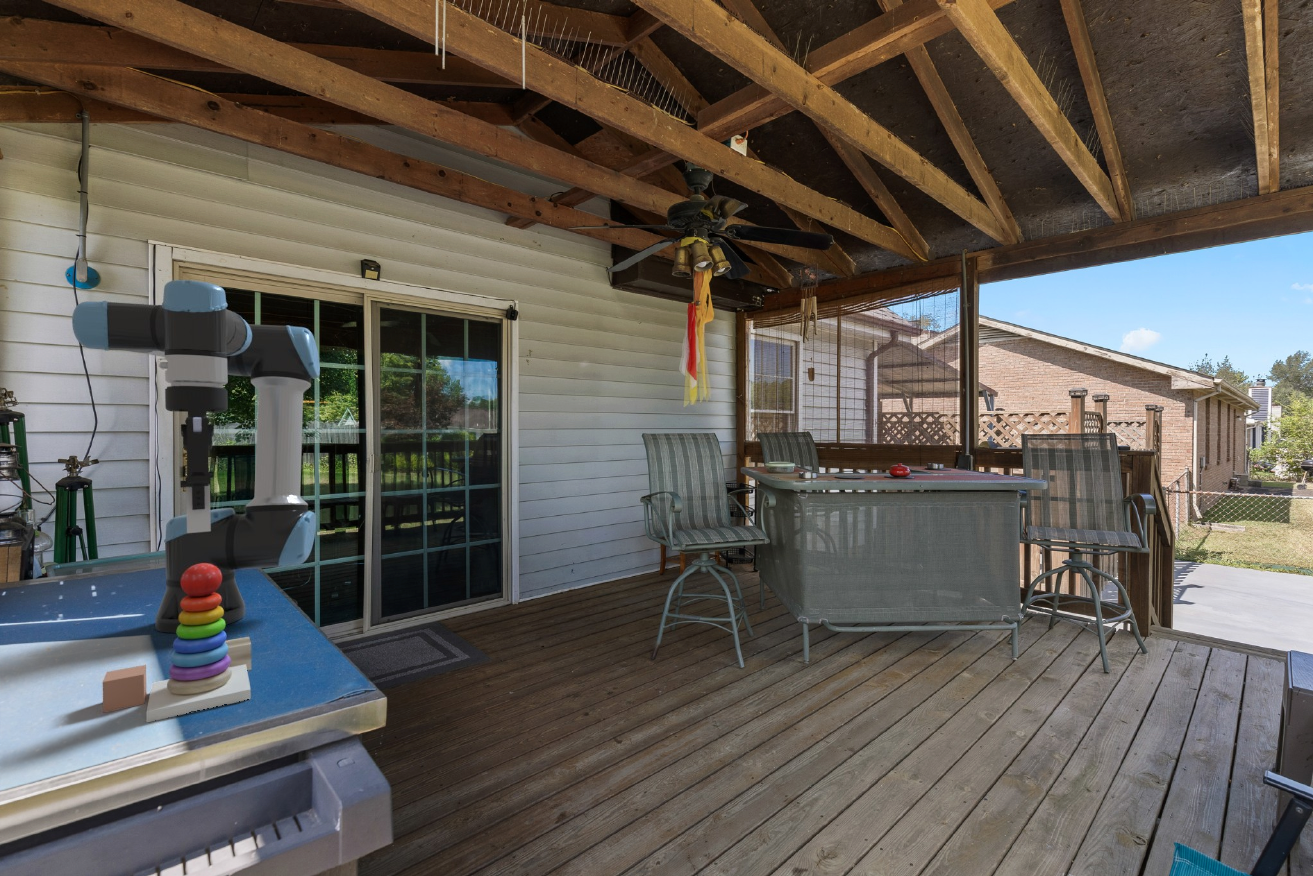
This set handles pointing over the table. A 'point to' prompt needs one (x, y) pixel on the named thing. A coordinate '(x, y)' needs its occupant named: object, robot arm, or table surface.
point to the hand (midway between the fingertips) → (199, 525)
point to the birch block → (239, 652)
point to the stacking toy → (200, 635)
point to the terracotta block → (124, 688)
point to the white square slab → (197, 696)
